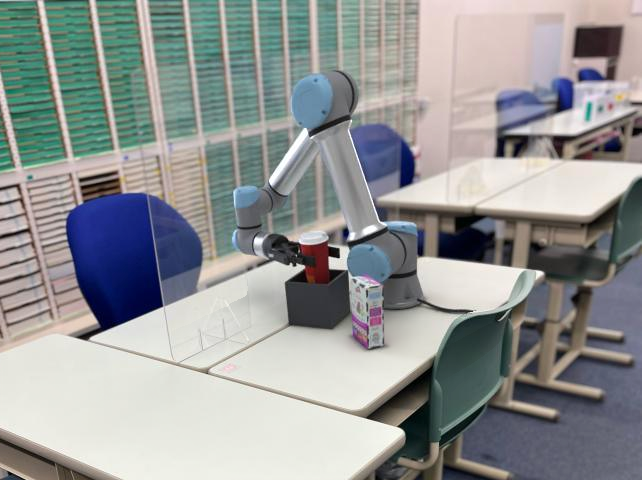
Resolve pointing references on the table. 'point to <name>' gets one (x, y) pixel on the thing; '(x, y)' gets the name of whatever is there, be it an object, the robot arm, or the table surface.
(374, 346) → the candy bar box
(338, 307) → the trash bin
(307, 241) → the coffee cup
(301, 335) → the table surface
